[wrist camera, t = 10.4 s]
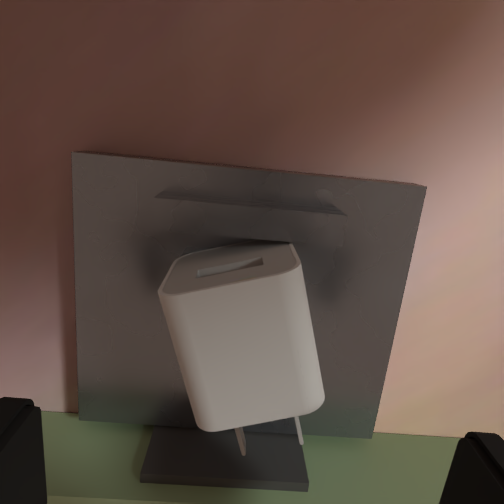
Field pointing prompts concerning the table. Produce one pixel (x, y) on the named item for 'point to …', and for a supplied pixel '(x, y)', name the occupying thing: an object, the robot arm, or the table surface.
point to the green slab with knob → (236, 466)
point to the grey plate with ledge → (222, 234)
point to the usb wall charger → (243, 335)
